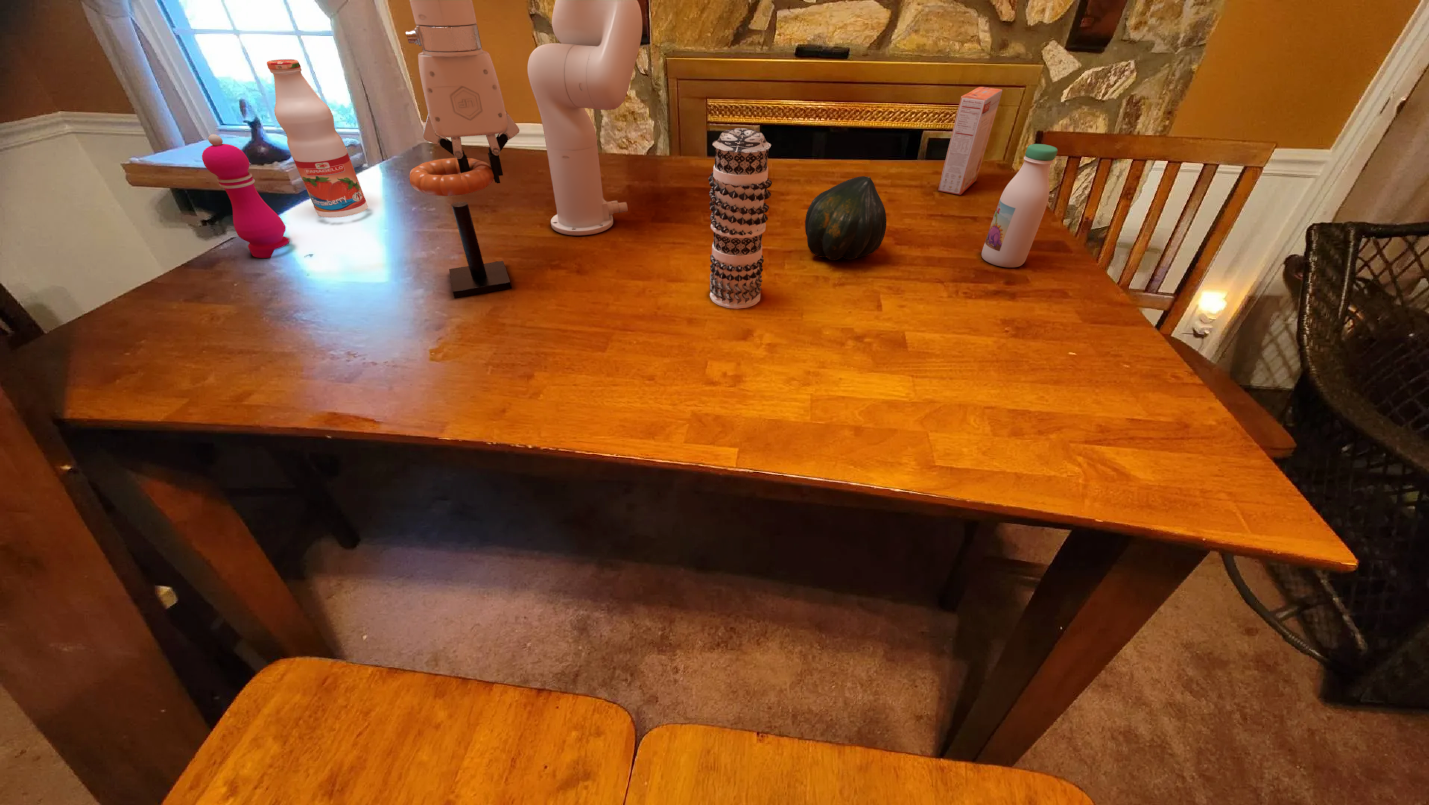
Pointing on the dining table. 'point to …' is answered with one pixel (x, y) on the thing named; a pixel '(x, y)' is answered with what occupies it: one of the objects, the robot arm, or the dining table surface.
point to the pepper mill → (244, 199)
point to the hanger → (474, 261)
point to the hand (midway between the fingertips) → (483, 181)
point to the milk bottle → (1020, 209)
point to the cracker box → (969, 139)
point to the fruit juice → (315, 143)
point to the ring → (450, 177)
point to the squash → (846, 220)
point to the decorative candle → (738, 217)
